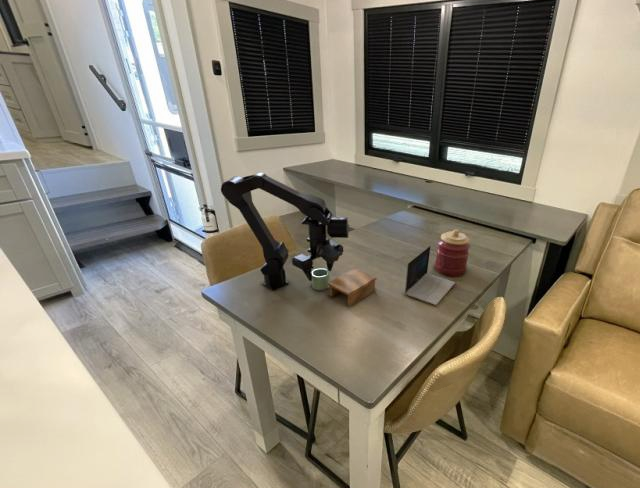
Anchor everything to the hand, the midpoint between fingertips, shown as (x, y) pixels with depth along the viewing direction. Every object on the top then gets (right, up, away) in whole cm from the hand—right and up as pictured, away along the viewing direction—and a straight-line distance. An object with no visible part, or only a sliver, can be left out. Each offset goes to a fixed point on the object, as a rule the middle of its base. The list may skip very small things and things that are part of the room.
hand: (320, 275), depth 119 cm
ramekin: (0, -4, +2) cm, 4 cm away
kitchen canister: (+50, +2, +20) cm, 53 cm away
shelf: (+12, -6, -1) cm, 13 cm away
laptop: (+40, -5, +5) cm, 41 cm away
